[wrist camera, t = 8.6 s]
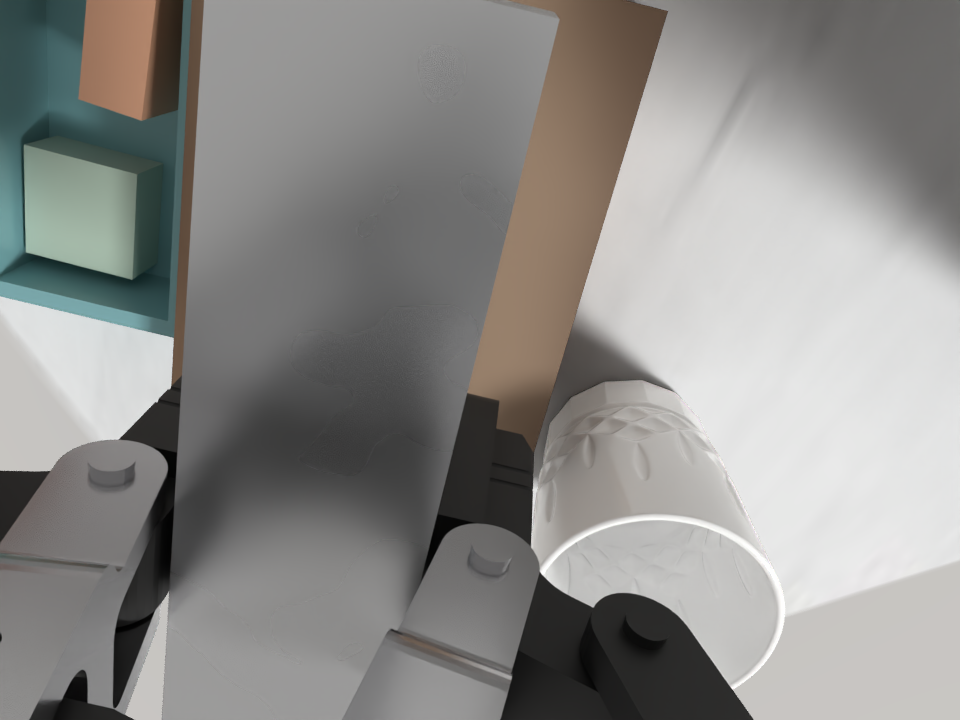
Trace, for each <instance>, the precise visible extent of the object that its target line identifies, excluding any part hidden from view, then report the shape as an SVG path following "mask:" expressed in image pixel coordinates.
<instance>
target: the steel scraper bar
mask: <svg viewBox="0 0 960 720" xmlns="http://www.w3.org/2000/svg"><path fill="white" fill-rule="evenodd" d="M559 20H560V19H559V18H558V16H557V15H556V13H555V12H552V11H548V10H544V9H540V8H536V7H532V6H528V5H524V4H520V3H516V2H512V1H508V0H204V10H203V27H202V44H201V61H200V78H199V95H198V112H197V129H196V146H195V163H194V180H193V197H192V214H191V231H190V248H189V265H188V282H187V299H186V316H185V333H184V350H183V367H182V384H181V401H180V418H179V435H178V452H177V469H176V486H175V503H174V520H173V537H172V554H171V571H170V588H169V605H168V622H167V639H166V656H165V674H164V690H163V707H162V720H342V718H343V716H344V714H345V712H346V710H347V708H348V706H349V705H350V703H351V701H352V699H353V697H354V695H355V693H356V691H357V689H358V687H359V685H360V683H361V681H362V679H363V677H364V675H365V673H366V671H367V669H368V667H369V665H370V663H371V662H372V660H373V658H374V656H375V654H376V652H377V650H378V648H379V646H380V644H381V642H382V640H383V638H384V637H385V635H386V633H387V632H388V631H389V630H390V629H395V630H398V628H399V626H400V624H401V622H402V620H403V618H404V616H405V614H406V612H407V610H408V608H409V606H410V604H411V602H412V600H413V598H414V596H415V594H416V592H417V590H418V588H419V586H420V582H421V578H422V574H423V570H424V566H425V562H426V558H427V554H428V550H429V545H430V541H431V537H432V533H433V529H434V525H435V521H436V517H437V513H438V509H439V505H440V501H441V497H442V493H443V489H444V485H445V481H446V477H447V473H448V469H449V465H450V461H451V456H452V452H453V448H454V444H455V440H456V436H457V432H458V428H459V424H460V420H461V416H462V412H463V408H464V404H465V400H466V396H467V392H468V388H469V384H470V380H471V376H472V372H473V368H474V363H475V359H476V355H477V351H478V347H479V343H480V339H481V335H482V331H483V327H484V323H485V319H486V315H487V311H488V307H489V303H490V299H491V295H492V291H493V287H494V283H495V279H496V274H497V270H498V266H499V262H500V258H501V254H502V250H503V246H504V242H505V238H506V234H507V230H508V226H509V222H510V218H511V214H512V210H513V206H514V202H515V198H516V194H517V190H518V186H519V181H520V177H521V173H522V169H523V165H524V161H525V157H526V153H527V149H528V145H529V141H530V137H531V133H532V129H533V125H534V121H535V117H536V113H537V109H538V105H539V101H540V97H541V92H542V88H543V84H544V80H545V76H546V72H547V68H548V64H549V60H550V56H551V52H552V48H553V44H554V40H555V36H556V32H557V28H558V24H559Z"/></svg>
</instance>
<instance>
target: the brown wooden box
mask: <svg viewBox="0 0 960 720" xmlns="http://www.w3.org/2000/svg"><path fill="white" fill-rule="evenodd" d="M508 1H512V2H516V3H520V4H524V5H528V6H532V7H536V8H540V9H544V10H548V11H552V12H555V13H556V15H557V16H558V18H559V19H560V20H559V24H558V28H557V32H556V36H555V40H554V44H553V48H552V52H551V56H550V60H549V64H548V68H547V72H546V76H545V80H544V84H543V88H542V92H541V97H540V101H539V105H538V109H537V113H536V117H535V121H534V125H533V129H532V133H531V137H530V141H529V145H528V149H527V153H526V157H525V161H524V165H523V169H522V173H521V177H520V181H519V186H518V190H517V194H516V198H515V202H514V206H513V210H512V214H511V218H510V222H509V226H508V230H507V234H506V238H505V242H504V246H503V250H502V254H501V258H500V262H499V266H498V270H497V274H496V279H495V283H494V287H493V291H492V295H491V299H490V303H489V307H488V311H487V315H486V319H485V323H484V327H483V331H482V335H481V339H480V343H479V347H478V351H477V355H476V359H475V363H474V368H473V372H472V376H471V380H470V384H469V388H468V392H467V393H470V394H474V395H478V396H483V397H487V398H491V399H495V400H499V410H498V418H497V426H496V428H497V429H501V430H505V431H509V432H514V433H518V434H522V435H523V436H524V438H525V439H526V441H527V443H528V444H529V446H530V448H531V449H532V451H533V453H534V450H535V447H536V444H537V440H538V437H539V434H540V430H541V427H542V424H543V421H544V417H545V414H546V411H547V407H548V404H549V401H550V398H551V394H552V391H553V388H554V384H555V381H556V378H557V375H558V371H559V368H560V365H561V361H562V358H563V355H564V351H565V348H566V345H567V342H568V338H569V335H570V332H571V328H572V325H573V322H574V319H575V315H576V312H577V309H578V305H579V302H580V299H581V296H582V292H583V289H584V286H585V282H586V279H587V276H588V273H589V269H590V266H591V263H592V259H593V256H594V253H595V250H596V246H597V243H598V240H599V236H600V233H601V230H602V226H603V223H604V220H605V217H606V213H607V210H608V207H609V203H610V200H611V197H612V194H613V190H614V187H615V184H616V180H617V177H618V174H619V171H620V167H621V164H622V161H623V157H624V154H625V151H626V148H627V144H628V141H629V138H630V134H631V131H632V128H633V124H634V121H635V118H636V115H637V111H638V108H639V105H640V101H641V98H642V95H643V92H644V88H645V85H646V82H647V78H648V75H649V72H650V69H651V65H652V62H653V59H654V55H655V52H656V49H657V46H658V42H659V39H660V36H661V32H662V29H663V26H664V22H665V19H666V16H667V13H668V11H665V10H661V9H657V8H653V7H649V6H645V5H641V4H637V3H634V2H630V1H626V0H508ZM203 10H204V0H192V4H191V23H190V42H189V61H188V80H187V99H186V118H185V137H184V157H183V176H182V195H181V214H180V233H179V252H178V271H177V290H176V309H175V329H174V348H173V367H172V385H173V384H174V383H175V382H176V381H177V380H178V379H179V378H180V377H181V376H182V367H183V350H184V333H185V316H186V299H187V282H188V265H189V248H190V231H191V214H192V197H193V180H194V163H195V146H196V129H197V112H198V95H199V78H200V61H201V44H202V27H203Z"/></svg>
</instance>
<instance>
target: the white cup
mask: <svg viewBox="0 0 960 720" xmlns="http://www.w3.org/2000/svg"><path fill="white" fill-rule="evenodd" d="M531 548H532V549H533V550H534V552H535V554H536V556H537V558H538V561H539V566H540V572H541V574H542V575H543V576H544V577H545V578H546V579H547V580H548V581H549V582H550V583H551V584H552V585H554V586H555V587H556V588H558V589H559V590H561V591H562V592H564V593H565V594H567V595H569V596H571V597H573V598H575V599H577V600H579V601H581V602H583V603H585V604H587V605H589V606H591V607H593V608H594V606H595V604H596V603H597V602H598V601H599V600H600V599H602V598H603V597H605V596H608V595H610V594H615V593H632V594H638V595H642V596H645V597H648V598H650V599H653V600H655V601H657V602H659V603H661V604H663V605H664V606H666V607H667V608H669V609H670V610H671V611H673V612H674V613H675V614H677V615H678V616H679V617H680V618H681V619H682V620H683V621H684V623H685V624H686V625H687V626H688V628H689V629H690V630H691V632H692V633H693V635H694V636H695V638H696V639H697V640H698V642H699V643H700V645H701V646H702V647H703V649H704V650H705V652H706V653H707V655H708V656H709V657H710V659H711V660H712V662H713V663H714V664H715V666H716V667H717V669H718V670H719V672H720V673H721V674H722V676H723V677H724V679H725V680H726V681H727V683H728V684H729V686H730V687H731V688H732V689H734V688H736V687H737V686H739V685H740V684H742V683H743V682H745V681H746V680H747V679H749V678H750V677H751V676H752V675H753V674H755V673H756V672H757V671H758V670H759V669H760V667H762V665H763V664H764V663H765V662H766V660H767V659H768V658H769V657H770V655H771V654H772V652H773V650H774V649H775V647H776V645H777V643H778V641H779V638H780V635H781V632H782V629H783V625H784V619H785V601H784V595H783V591H782V587H781V584H780V582H779V579H778V577H777V575H776V573H775V571H774V568H773V566H772V564H771V562H770V560H769V558H768V556H767V554H766V552H765V550H764V547H763V545H762V543H761V541H760V539H759V537H758V535H757V533H756V530H755V528H754V526H753V524H752V522H751V520H750V517H749V515H748V513H747V511H746V509H745V507H744V504H743V502H742V500H741V498H740V496H739V494H738V491H737V489H736V487H735V485H734V483H733V482H732V480H731V478H730V476H729V475H728V473H727V471H726V468H725V466H724V464H723V462H722V460H721V458H720V456H719V455H718V453H717V451H716V450H715V448H714V446H713V445H712V443H711V442H710V441H709V438H708V436H707V434H706V432H705V429H704V427H703V425H702V422H701V420H700V418H699V417H698V416H697V415H696V414H695V413H694V412H693V410H692V409H691V408H690V407H689V406H688V405H687V404H686V403H685V402H684V401H683V400H682V399H681V398H680V397H679V396H678V394H677V393H675V392H672V391H670V390H667V389H665V388H662V387H659V386H657V385H654V384H651V383H649V382H646V381H644V380H628V381H606V382H602V383H600V384H598V385H596V386H594V387H592V388H590V389H588V390H585V391H583V392H581V393H579V394H577V395H575V396H573V397H571V398H570V400H569V401H568V402H567V403H566V404H565V406H564V407H563V408H562V409H561V410H560V412H559V413H558V414H557V415H556V416H555V418H554V419H553V420H552V421H551V423H550V425H549V430H548V435H547V440H546V445H545V450H544V457H543V466H542V468H541V470H540V473H539V480H538V489H537V493H536V501H535V508H534V517H533V527H532V537H531Z"/></svg>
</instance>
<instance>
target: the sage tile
mask: <svg viewBox="0 0 960 720" xmlns="http://www.w3.org/2000/svg"><path fill="white" fill-rule="evenodd" d="M162 178H163V163H160V162H156V161H153V160H149V159H145V158H141V157H137V156H134V155H130V154H126V153H122V152H118V151H115V150H111V149H107V148H103V147H99V146H96V145H92V144H88V143H84V142H80V141H77V140H73V139H69V138H65V137H61V136H58V135H57V136H54V137H50V138H46V139H43V140H39V141H35V142H32V143H28V144H24V183H25V232H26V252H27V253H31V254H35V255H38V256H42V257H46V258H50V259H54V260H58V261H62V262H66V263H69V264H73V265H77V266H81V267H85V268H89V269H93V270H97V271H100V272H104V273H108V274H112V275H116V276H120V277H124V278H128V279H131V280H133V279H134V278H136V277H137V276H139V275H140V274H142V273H143V272H145V271H146V270H148V269H149V268H151V267H152V266H154V265H155V264H157V262H158V245H159V228H160V211H161V195H162Z"/></svg>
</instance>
